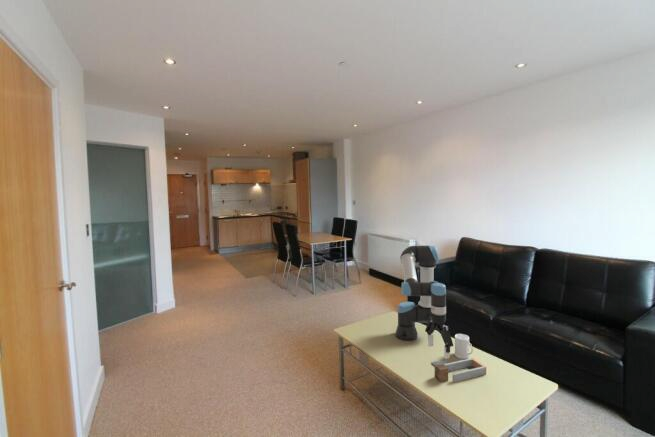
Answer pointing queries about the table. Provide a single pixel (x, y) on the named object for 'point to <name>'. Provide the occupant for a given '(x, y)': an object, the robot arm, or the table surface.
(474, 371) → the channel
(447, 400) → the table surface
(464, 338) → the mug
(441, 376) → the block
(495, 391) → the table surface
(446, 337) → the robot arm
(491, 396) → the table surface
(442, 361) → the coaster
